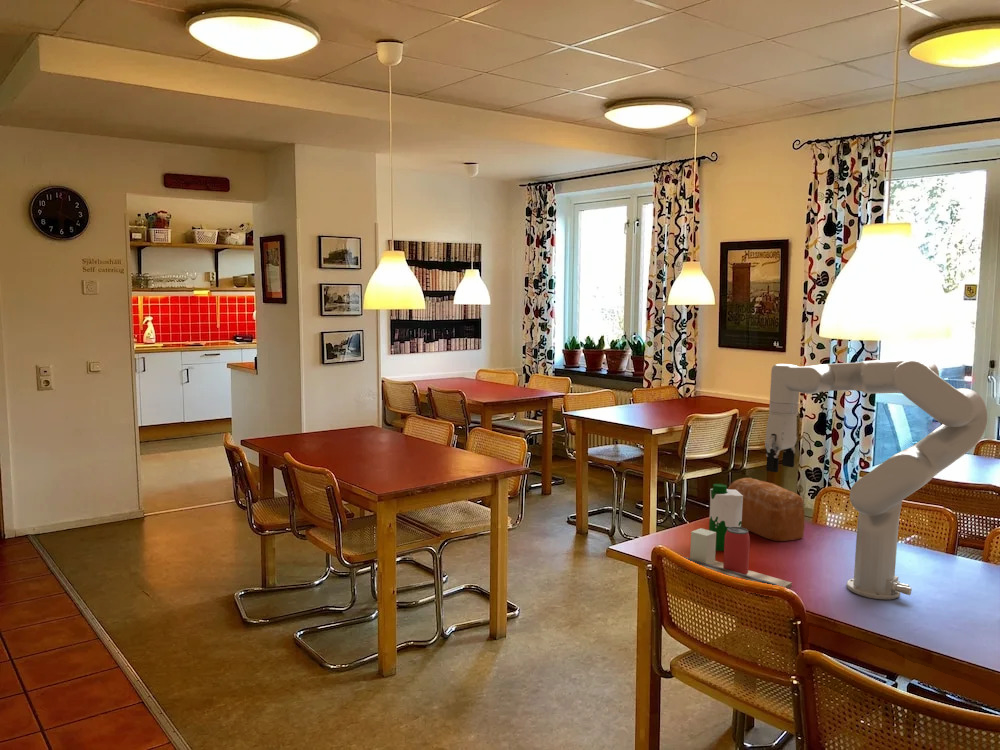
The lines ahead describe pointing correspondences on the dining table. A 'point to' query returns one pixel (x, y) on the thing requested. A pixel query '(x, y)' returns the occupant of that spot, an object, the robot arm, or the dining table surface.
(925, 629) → the dining table surface
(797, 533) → the bread
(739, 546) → the beer can
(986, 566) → the dining table surface
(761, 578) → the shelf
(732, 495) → the milk carton
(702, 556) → the carton
